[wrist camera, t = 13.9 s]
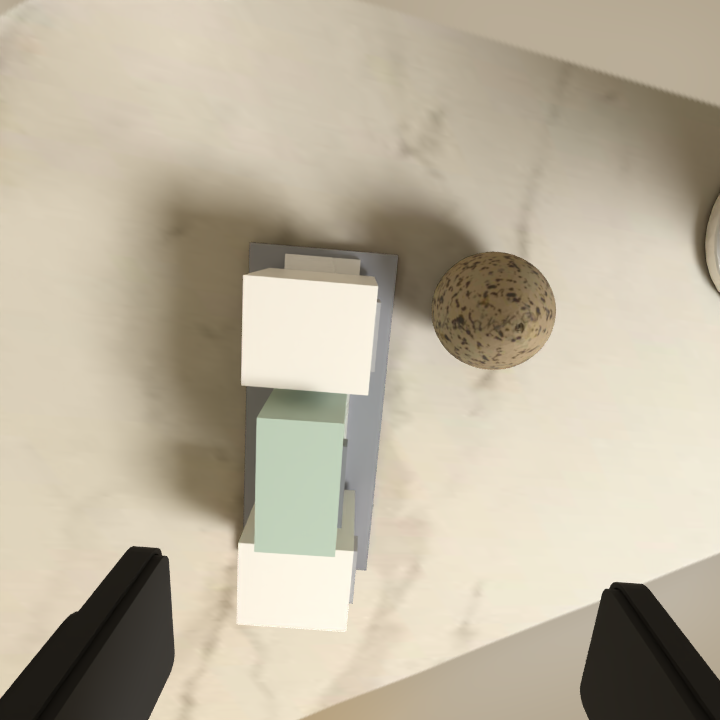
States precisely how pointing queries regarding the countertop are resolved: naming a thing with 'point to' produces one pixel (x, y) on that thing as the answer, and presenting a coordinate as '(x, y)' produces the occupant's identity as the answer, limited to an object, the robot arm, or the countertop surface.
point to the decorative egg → (493, 310)
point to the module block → (300, 472)
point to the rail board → (322, 374)
